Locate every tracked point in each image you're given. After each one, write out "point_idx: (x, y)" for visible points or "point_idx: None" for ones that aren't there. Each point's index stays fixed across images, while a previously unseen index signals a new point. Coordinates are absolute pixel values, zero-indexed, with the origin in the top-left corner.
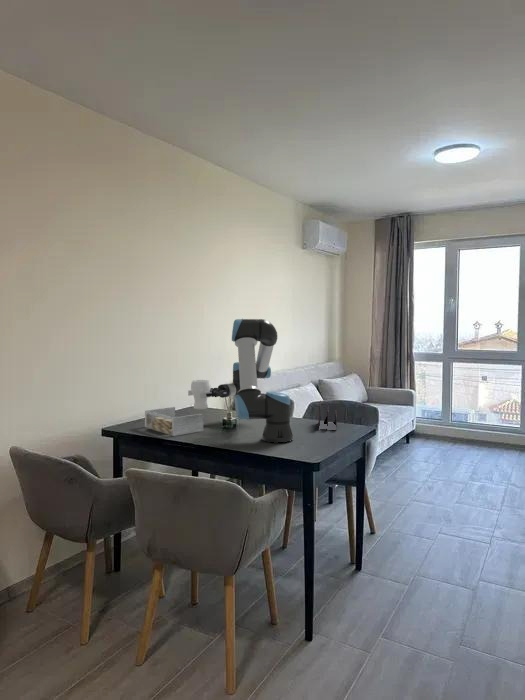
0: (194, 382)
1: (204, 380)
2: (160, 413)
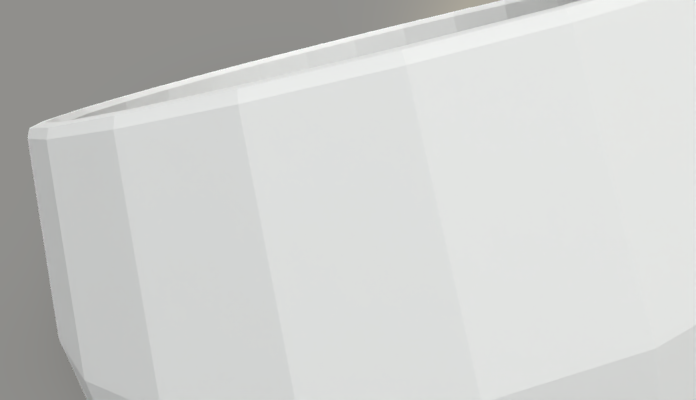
0: (293, 70)
1: (688, 6)
2: None
